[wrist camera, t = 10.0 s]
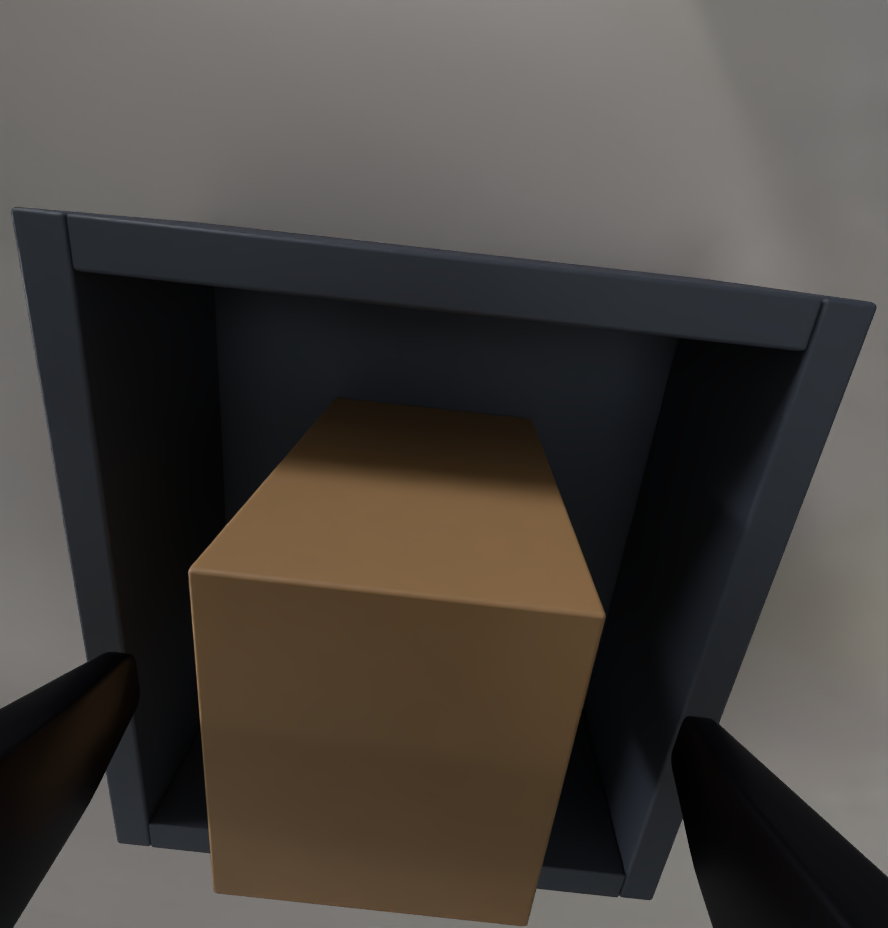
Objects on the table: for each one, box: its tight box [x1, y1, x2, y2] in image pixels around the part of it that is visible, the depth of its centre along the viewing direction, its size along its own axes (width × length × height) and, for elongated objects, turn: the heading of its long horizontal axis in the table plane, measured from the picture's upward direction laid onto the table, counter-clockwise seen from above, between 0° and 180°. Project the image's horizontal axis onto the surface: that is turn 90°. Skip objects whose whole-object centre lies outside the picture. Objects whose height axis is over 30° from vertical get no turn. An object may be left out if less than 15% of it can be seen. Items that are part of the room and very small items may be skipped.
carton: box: [188, 398, 606, 926], centre depth 11 cm, size 5×6×8 cm
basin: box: [11, 207, 876, 900], centre depth 13 cm, size 13×14×6 cm
